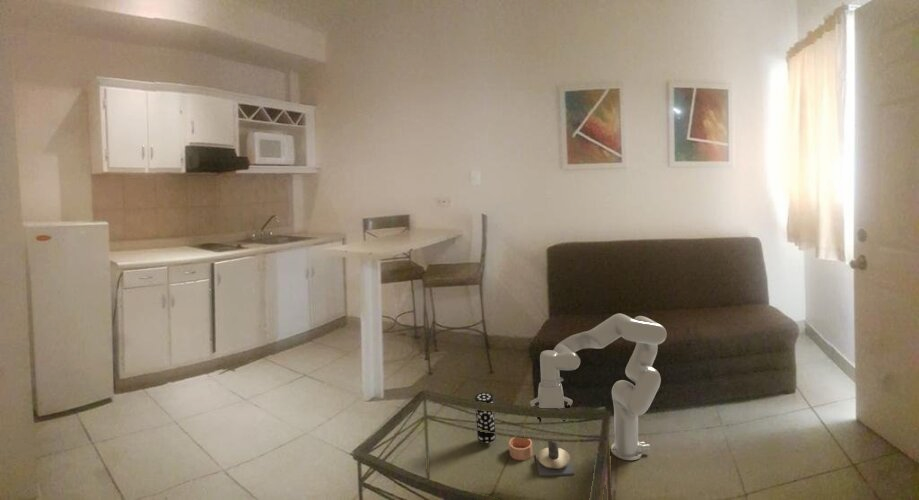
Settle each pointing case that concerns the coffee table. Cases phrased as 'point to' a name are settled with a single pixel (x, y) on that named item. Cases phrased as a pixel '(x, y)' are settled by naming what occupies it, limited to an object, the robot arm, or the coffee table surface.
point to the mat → (554, 469)
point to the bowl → (520, 448)
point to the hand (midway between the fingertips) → (551, 420)
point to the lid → (553, 456)
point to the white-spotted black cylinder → (485, 419)
